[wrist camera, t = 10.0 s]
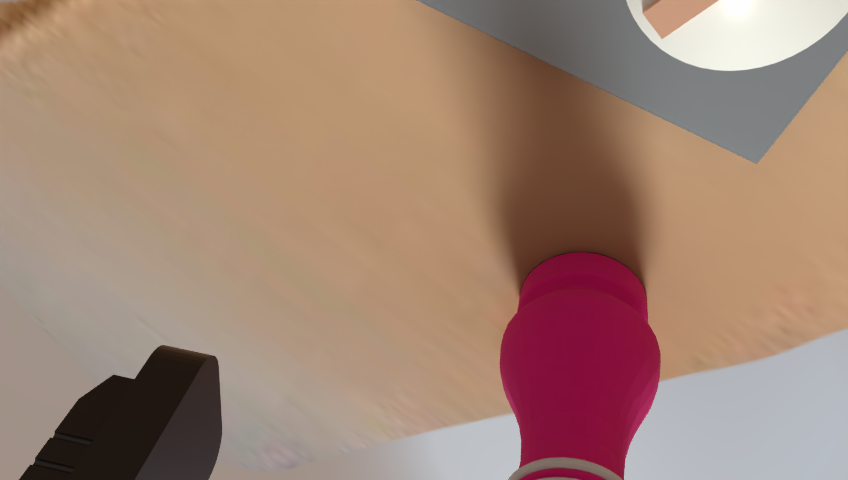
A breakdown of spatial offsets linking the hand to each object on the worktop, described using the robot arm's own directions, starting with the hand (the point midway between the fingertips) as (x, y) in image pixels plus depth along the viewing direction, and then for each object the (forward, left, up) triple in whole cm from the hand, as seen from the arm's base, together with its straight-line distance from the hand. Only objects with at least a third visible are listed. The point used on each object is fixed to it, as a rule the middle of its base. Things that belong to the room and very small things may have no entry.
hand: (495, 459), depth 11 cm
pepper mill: (+8, -15, -25) cm, 30 cm away
